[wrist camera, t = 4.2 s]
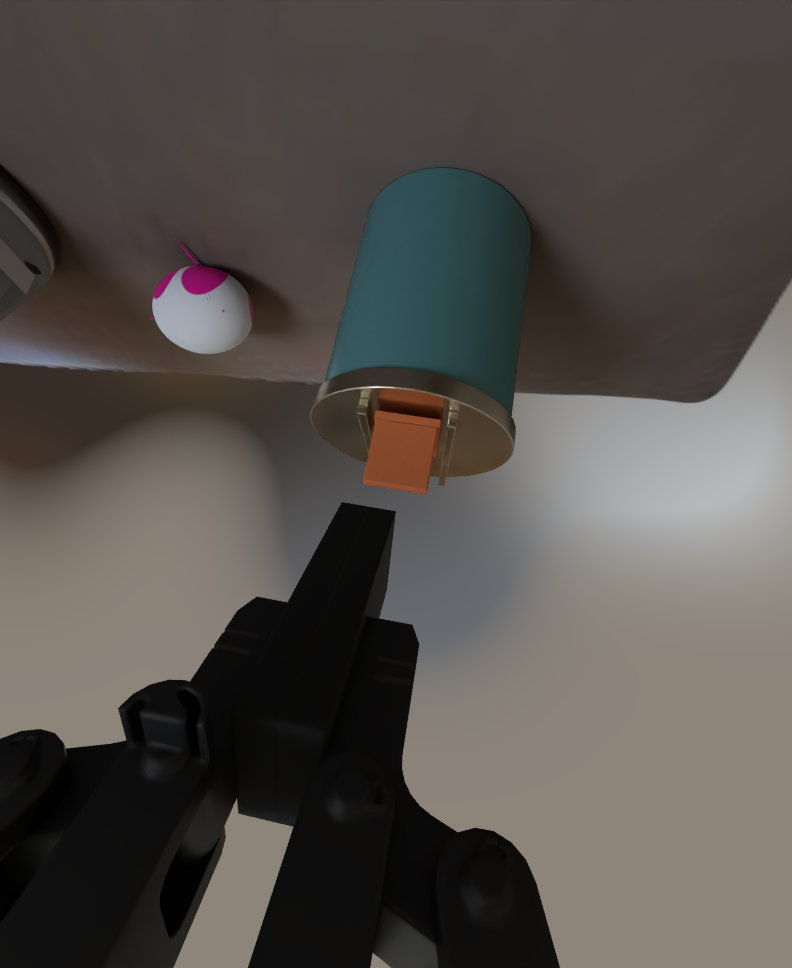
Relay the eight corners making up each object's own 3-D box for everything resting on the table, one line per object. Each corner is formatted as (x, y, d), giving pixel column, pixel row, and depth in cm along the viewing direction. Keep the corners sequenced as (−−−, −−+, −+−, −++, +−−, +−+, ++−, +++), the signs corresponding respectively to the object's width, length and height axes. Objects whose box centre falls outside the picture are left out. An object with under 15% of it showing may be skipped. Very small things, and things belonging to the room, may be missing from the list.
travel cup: (349, 151, 24) (281, 388, 20) (560, 171, 23) (535, 425, 19) (368, 295, 34) (326, 472, 30) (516, 313, 33) (493, 499, 29)
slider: (375, 409, 21) (360, 480, 20) (441, 419, 21) (429, 491, 20) (380, 441, 25) (368, 503, 24) (437, 450, 24) (427, 512, 23)
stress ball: (252, 220, 34) (197, 236, 28) (284, 332, 38) (241, 363, 33) (168, 234, 36) (102, 251, 31) (207, 337, 40) (155, 367, 35)
